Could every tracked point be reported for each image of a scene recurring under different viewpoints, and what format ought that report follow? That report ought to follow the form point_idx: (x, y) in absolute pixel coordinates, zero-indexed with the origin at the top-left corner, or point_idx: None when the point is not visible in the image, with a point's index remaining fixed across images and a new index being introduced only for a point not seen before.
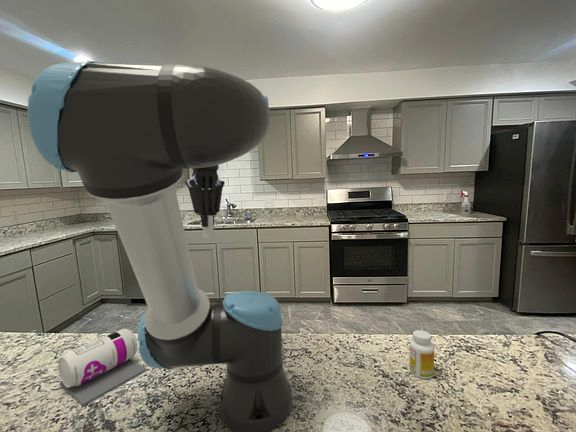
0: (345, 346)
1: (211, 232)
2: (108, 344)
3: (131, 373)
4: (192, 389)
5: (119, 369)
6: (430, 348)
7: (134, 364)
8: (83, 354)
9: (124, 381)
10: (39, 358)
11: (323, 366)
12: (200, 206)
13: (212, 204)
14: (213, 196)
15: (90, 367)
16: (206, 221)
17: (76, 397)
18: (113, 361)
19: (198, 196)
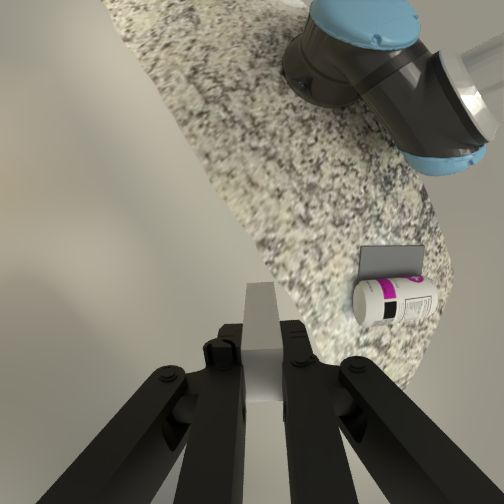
0: (154, 41)
1: (262, 293)
2: (401, 295)
3: (376, 254)
4: (353, 154)
5: (377, 276)
6: None
7: (362, 271)
8: (426, 293)
9: (387, 246)
10: (391, 377)
11: (216, 38)
12: (386, 392)
13: (226, 420)
14: (192, 489)
15: (417, 278)
16: (291, 337)
17: (422, 263)
18: (391, 278)
19: (437, 458)
